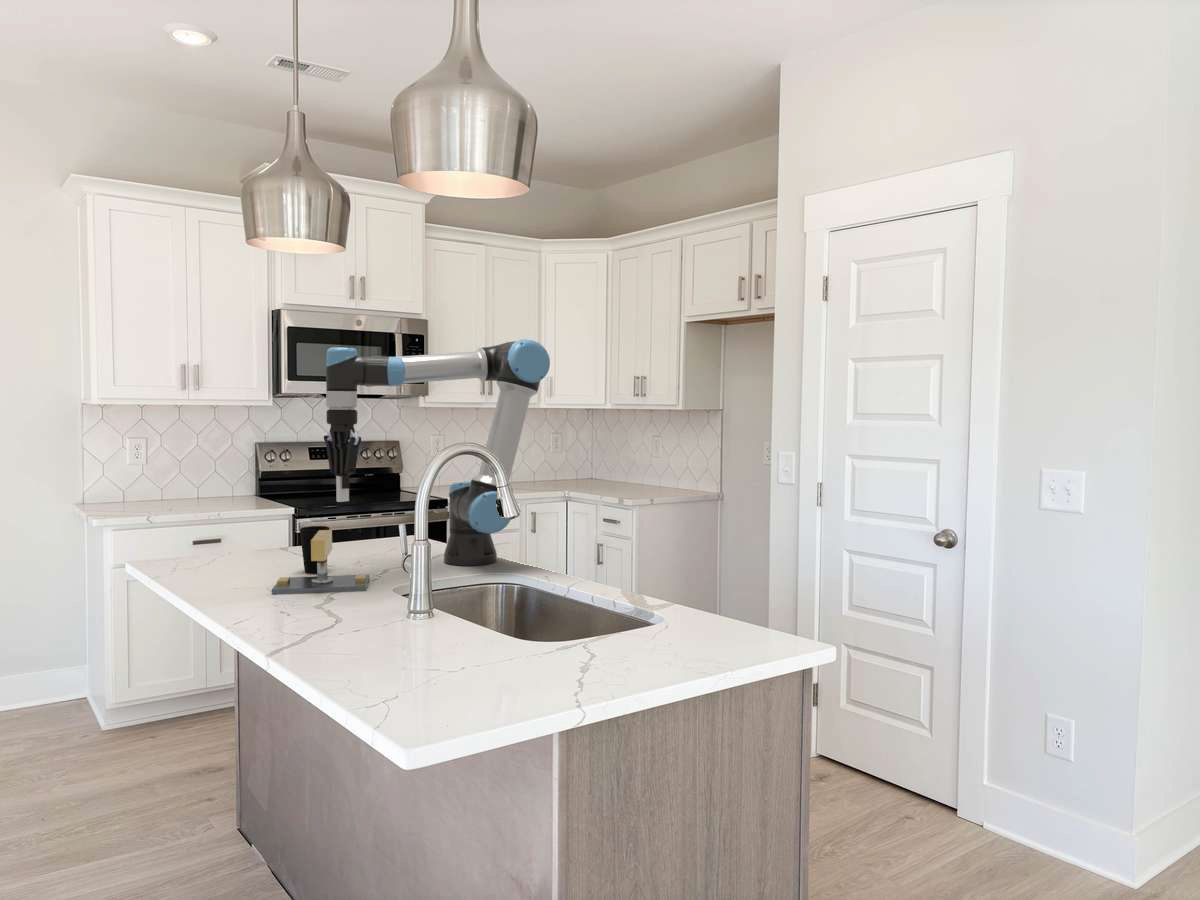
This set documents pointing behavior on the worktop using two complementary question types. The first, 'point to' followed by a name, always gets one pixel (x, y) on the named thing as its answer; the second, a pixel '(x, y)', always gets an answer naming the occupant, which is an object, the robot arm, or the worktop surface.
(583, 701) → the worktop surface
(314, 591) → the plate
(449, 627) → the worktop surface
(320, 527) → the cup
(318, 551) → the flat gold bar
